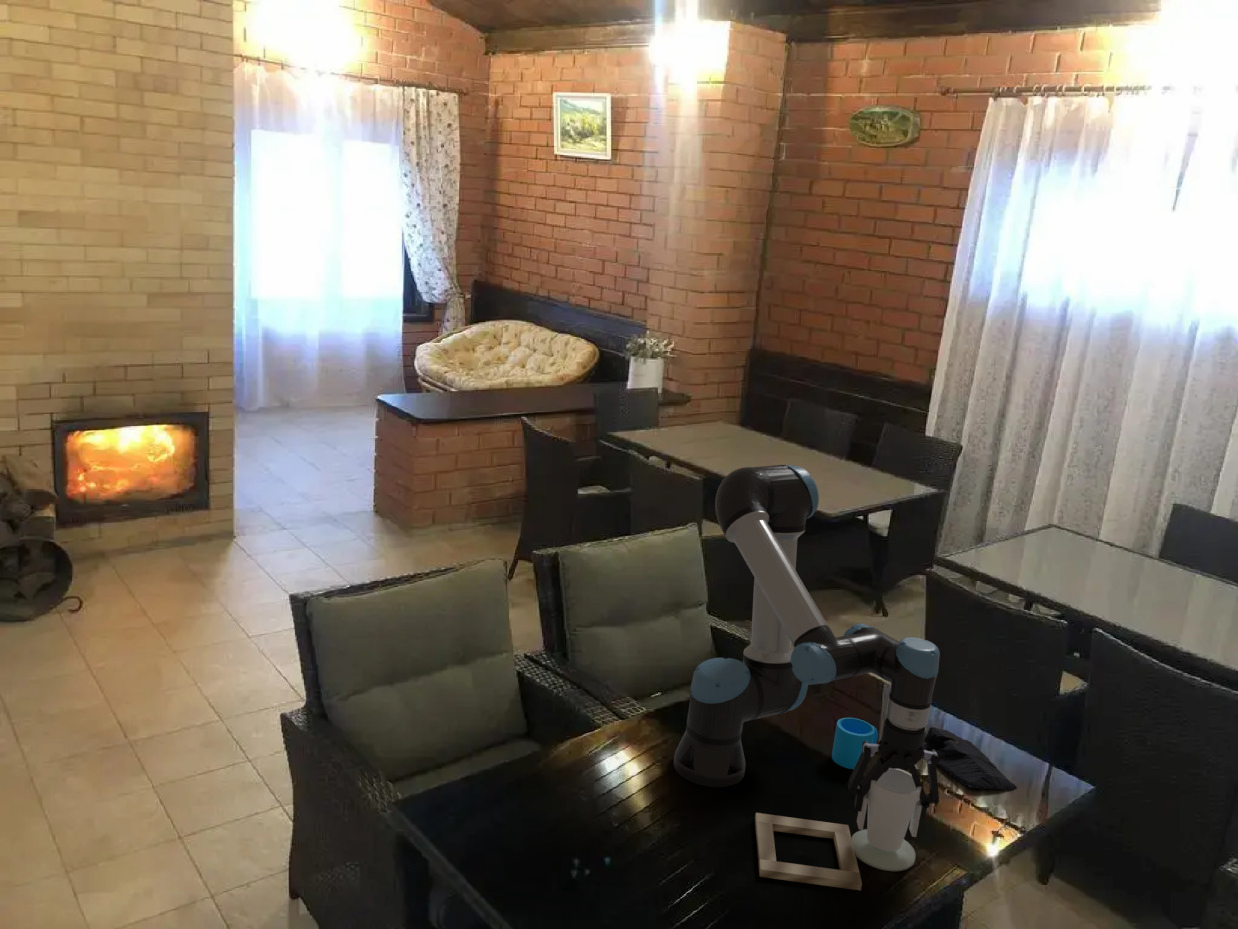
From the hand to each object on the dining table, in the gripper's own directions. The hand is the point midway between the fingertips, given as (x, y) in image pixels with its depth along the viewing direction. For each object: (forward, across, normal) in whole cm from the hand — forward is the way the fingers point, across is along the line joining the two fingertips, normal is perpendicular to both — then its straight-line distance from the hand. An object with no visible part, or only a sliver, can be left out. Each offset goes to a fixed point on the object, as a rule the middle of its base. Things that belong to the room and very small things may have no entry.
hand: (886, 829), depth 194 cm
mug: (+5, 0, +35) cm, 35 cm away
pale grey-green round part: (+5, 0, 0) cm, 5 cm away
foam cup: (+3, 0, 0) cm, 3 cm away
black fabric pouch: (+6, +24, +38) cm, 45 cm away
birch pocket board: (+5, -15, -4) cm, 16 cm away
